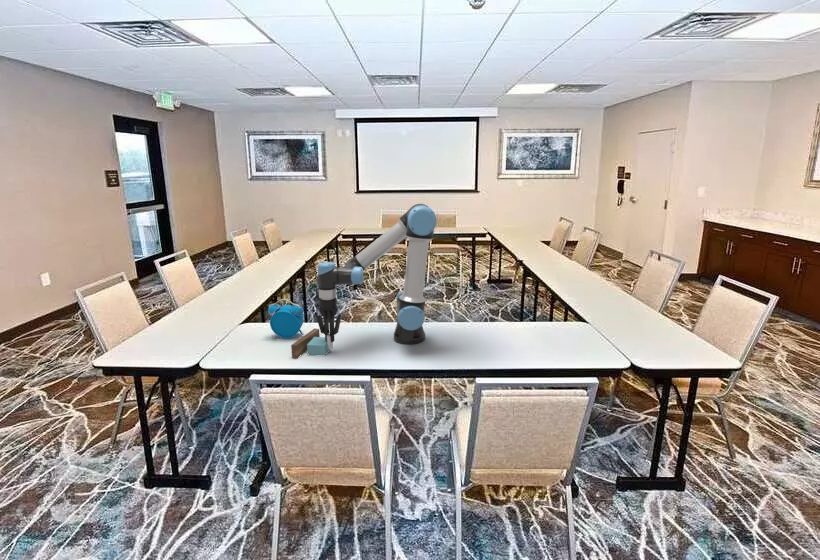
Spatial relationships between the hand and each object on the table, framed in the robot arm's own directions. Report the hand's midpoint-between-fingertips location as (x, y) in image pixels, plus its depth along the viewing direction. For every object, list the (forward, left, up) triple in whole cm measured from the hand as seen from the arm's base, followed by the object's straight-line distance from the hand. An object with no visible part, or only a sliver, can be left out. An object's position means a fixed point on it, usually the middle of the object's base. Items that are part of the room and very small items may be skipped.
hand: (330, 348), depth 211 cm
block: (+5, +1, -2) cm, 5 cm away
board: (+12, 0, -2) cm, 12 cm away
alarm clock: (+28, -12, -2) cm, 30 cm away
